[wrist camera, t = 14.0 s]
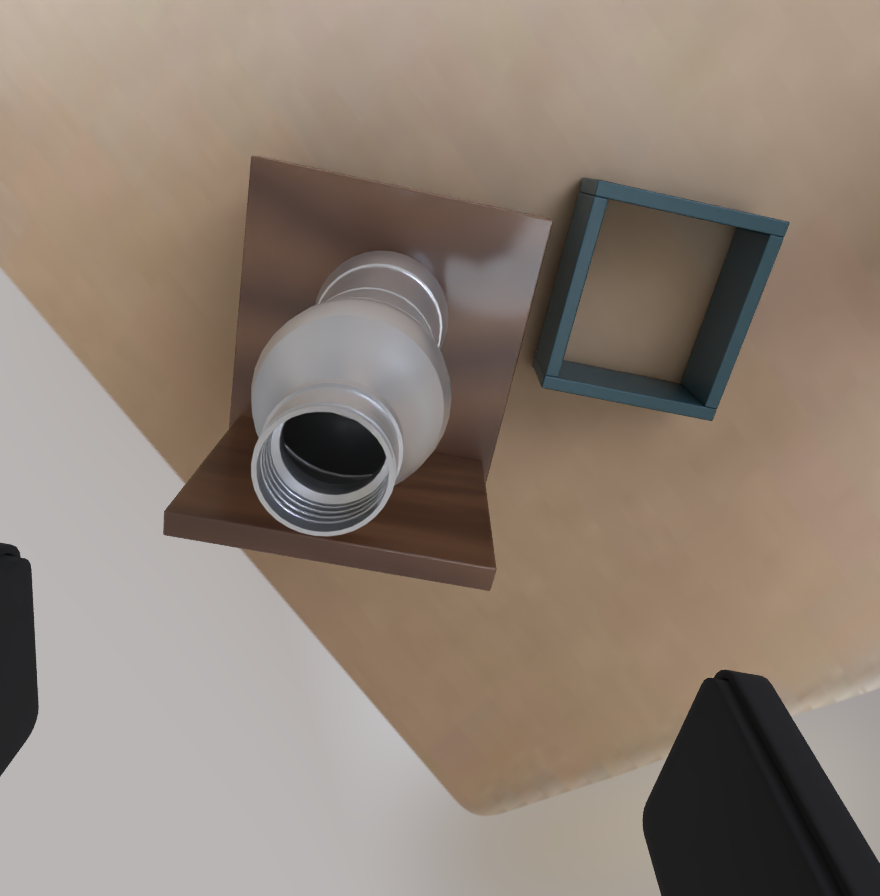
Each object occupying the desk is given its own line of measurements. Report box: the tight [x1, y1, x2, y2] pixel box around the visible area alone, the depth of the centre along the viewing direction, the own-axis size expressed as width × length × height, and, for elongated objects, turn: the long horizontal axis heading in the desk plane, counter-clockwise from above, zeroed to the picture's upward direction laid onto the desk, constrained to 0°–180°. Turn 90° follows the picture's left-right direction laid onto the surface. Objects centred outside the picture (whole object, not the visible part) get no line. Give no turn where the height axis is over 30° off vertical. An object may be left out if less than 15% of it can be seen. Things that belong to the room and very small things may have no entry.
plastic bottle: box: [251, 251, 452, 536], centre depth 26 cm, size 6×7×20 cm
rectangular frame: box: [533, 178, 789, 421], centre depth 40 cm, size 12×11×4 cm
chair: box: [163, 156, 553, 591], centre depth 34 cm, size 15×15×18 cm
